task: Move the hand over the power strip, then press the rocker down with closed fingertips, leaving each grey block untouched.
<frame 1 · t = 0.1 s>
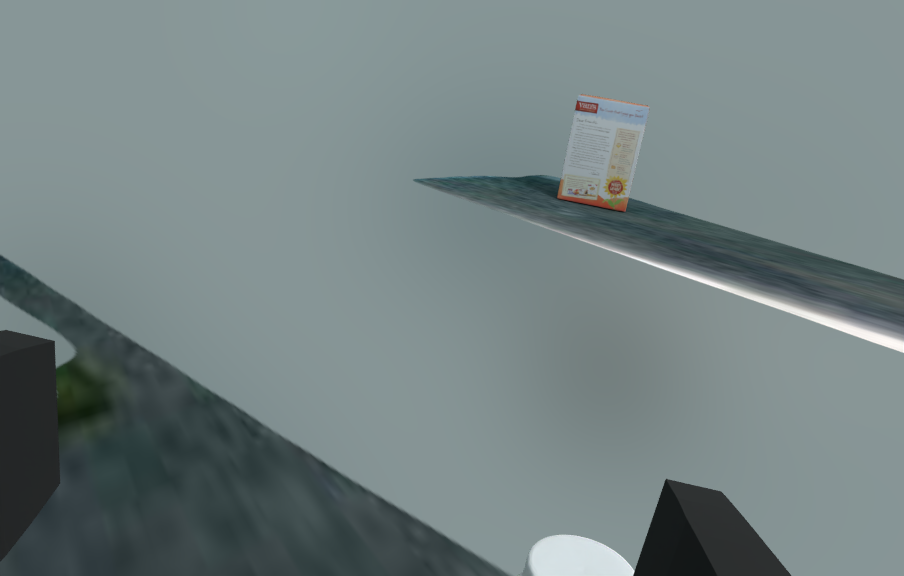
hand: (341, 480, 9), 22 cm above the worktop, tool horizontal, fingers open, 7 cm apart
cracker box: (590, 204, 153), on the worktop
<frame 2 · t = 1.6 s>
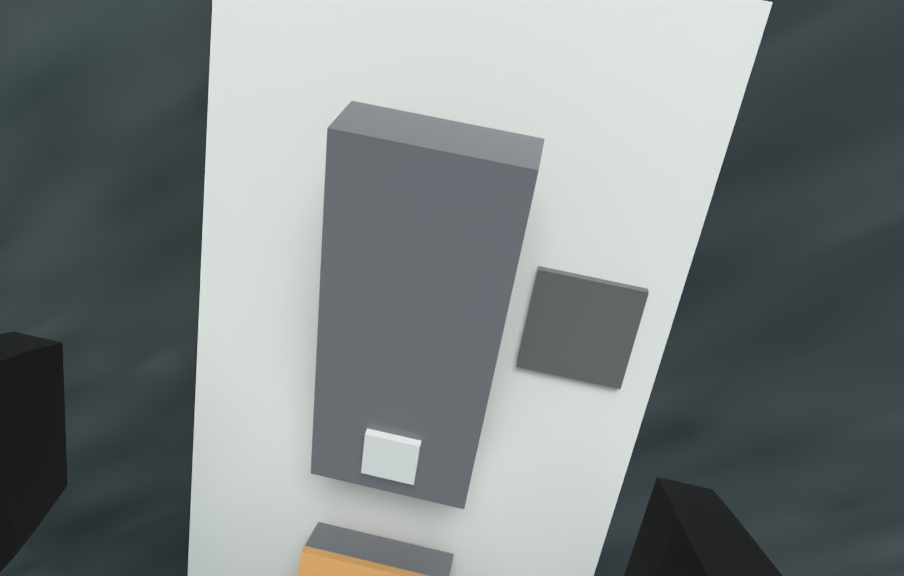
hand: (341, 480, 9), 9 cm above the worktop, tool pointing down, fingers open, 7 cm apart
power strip: (399, 541, 21), on the worktop
grey block 1: (412, 328, 13), point 5 cm above the worktop, hinge at -11.0°
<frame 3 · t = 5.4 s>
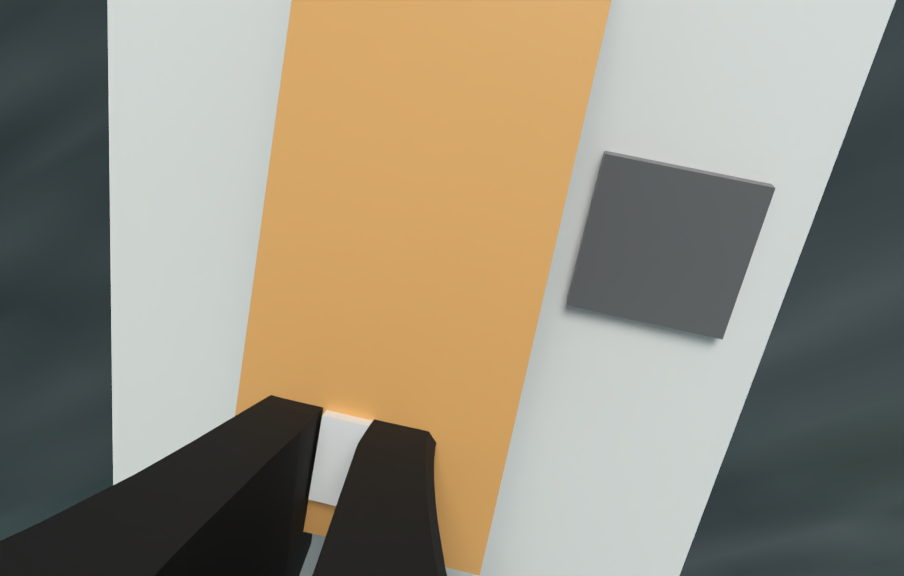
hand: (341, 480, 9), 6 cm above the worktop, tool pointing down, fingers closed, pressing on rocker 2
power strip: (473, 145, 13), on the worktop
rocker 2: (413, 233, 8), point 5 cm above the worktop, hinge at 9.8°, touching gripper
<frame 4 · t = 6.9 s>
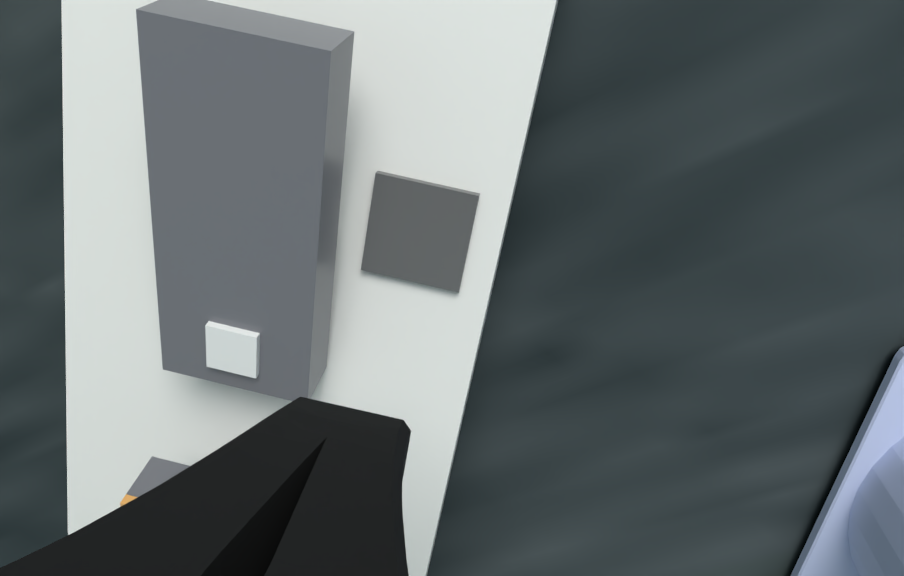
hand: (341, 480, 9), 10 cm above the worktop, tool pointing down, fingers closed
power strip: (290, 467, 21), on the worktop
grey block 1: (246, 221, 13), point 5 cm above the worktop, hinge at -11.0°
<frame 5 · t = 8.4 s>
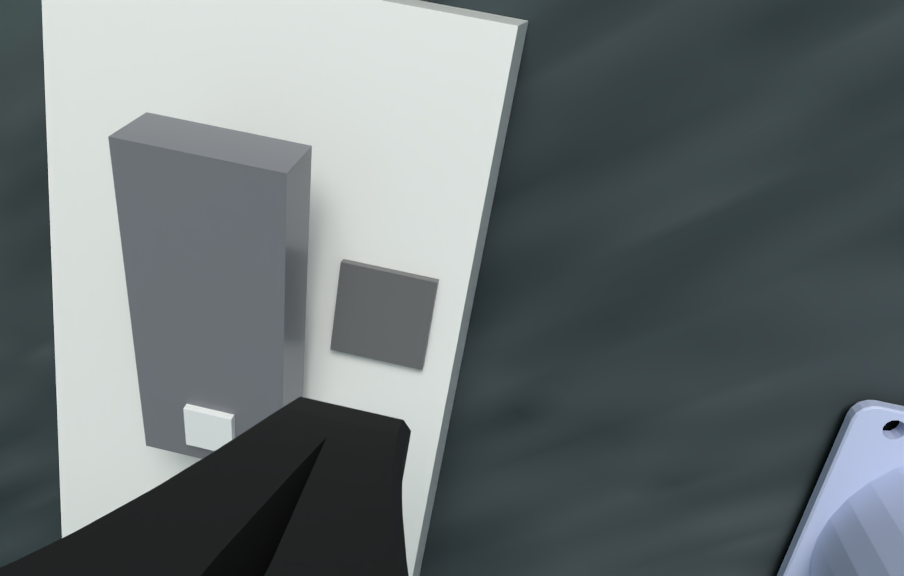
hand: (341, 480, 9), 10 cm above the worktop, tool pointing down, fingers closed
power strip: (277, 517, 22), on the worktop
grey block 1: (218, 313, 14), point 5 cm above the worktop, hinge at -11.0°
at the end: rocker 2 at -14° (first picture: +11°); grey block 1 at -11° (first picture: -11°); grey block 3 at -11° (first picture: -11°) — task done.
